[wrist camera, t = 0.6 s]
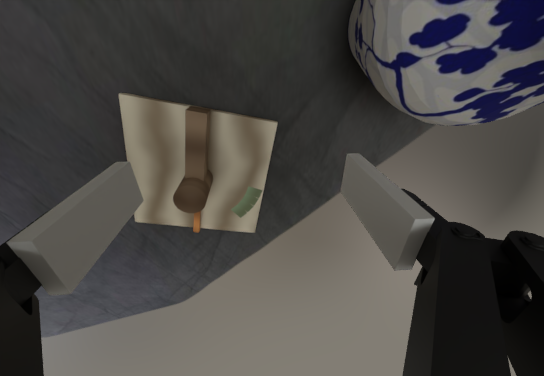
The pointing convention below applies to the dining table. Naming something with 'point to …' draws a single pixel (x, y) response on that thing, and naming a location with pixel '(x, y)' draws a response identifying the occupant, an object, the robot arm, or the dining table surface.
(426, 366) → the robot arm
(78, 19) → the dining table surface
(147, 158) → the cream flat square slab
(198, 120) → the wooden mallet
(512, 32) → the vase
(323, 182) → the dining table surface
